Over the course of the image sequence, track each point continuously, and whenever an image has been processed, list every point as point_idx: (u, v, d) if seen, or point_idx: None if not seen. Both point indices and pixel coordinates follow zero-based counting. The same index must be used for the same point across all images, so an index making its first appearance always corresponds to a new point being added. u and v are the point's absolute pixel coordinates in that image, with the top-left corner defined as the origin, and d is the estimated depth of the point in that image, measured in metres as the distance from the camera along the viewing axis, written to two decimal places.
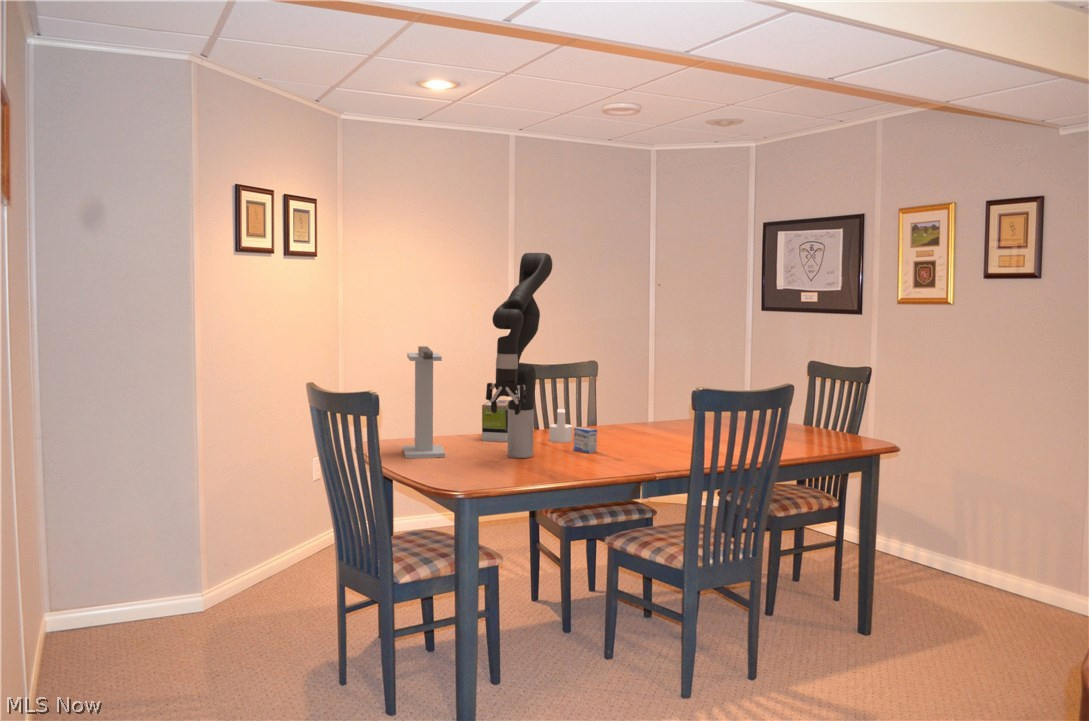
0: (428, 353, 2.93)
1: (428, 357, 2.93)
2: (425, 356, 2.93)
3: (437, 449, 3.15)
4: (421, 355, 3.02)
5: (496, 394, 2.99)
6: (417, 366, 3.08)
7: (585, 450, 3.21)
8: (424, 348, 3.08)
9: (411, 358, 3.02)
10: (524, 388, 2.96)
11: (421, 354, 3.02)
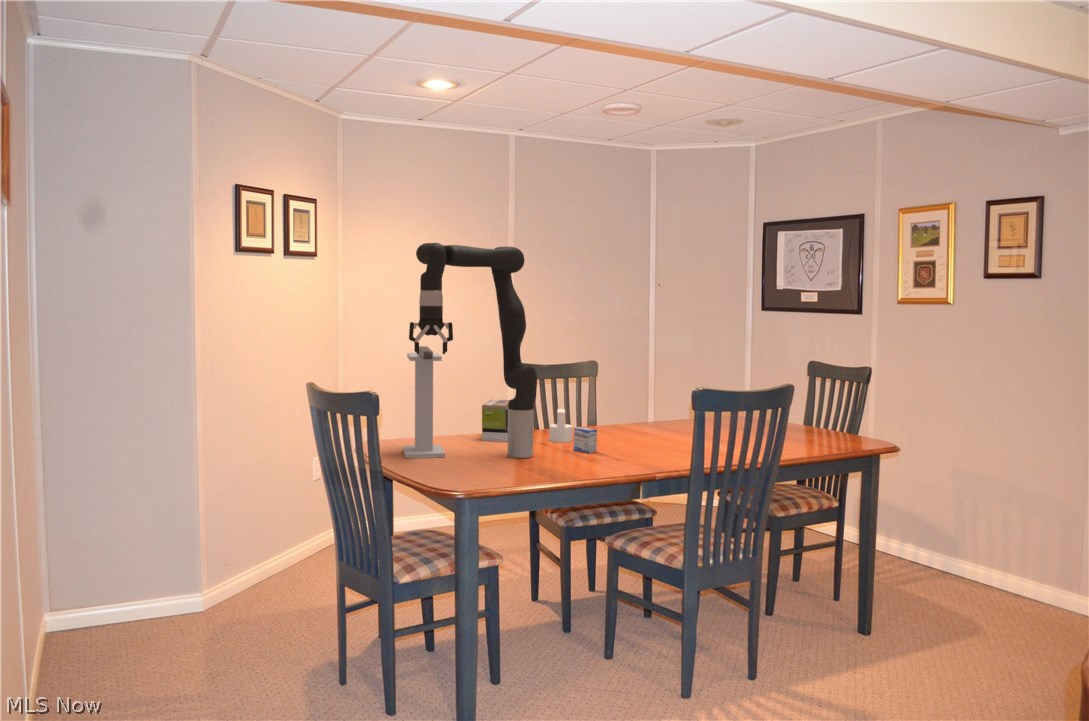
0: (428, 353, 2.93)
1: (428, 357, 2.93)
2: (425, 356, 2.93)
3: (437, 449, 3.15)
4: (421, 355, 3.02)
5: None
6: (417, 366, 3.08)
7: (585, 450, 3.21)
8: (424, 348, 3.08)
9: (411, 358, 3.02)
10: None
11: (421, 354, 3.02)
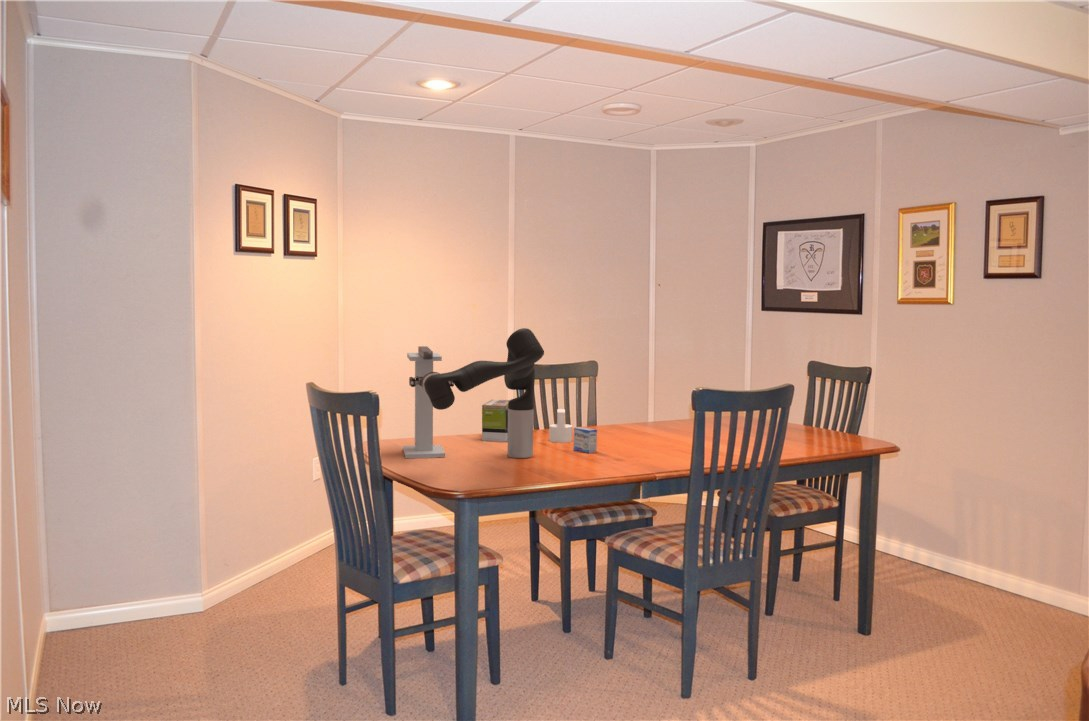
0: (428, 353, 2.93)
1: (428, 357, 2.93)
2: (425, 356, 2.93)
3: (437, 449, 3.15)
4: (421, 355, 3.02)
5: None
6: (417, 366, 3.08)
7: (585, 450, 3.21)
8: (424, 348, 3.08)
9: (411, 358, 3.02)
10: (410, 381, 2.77)
11: (421, 354, 3.02)
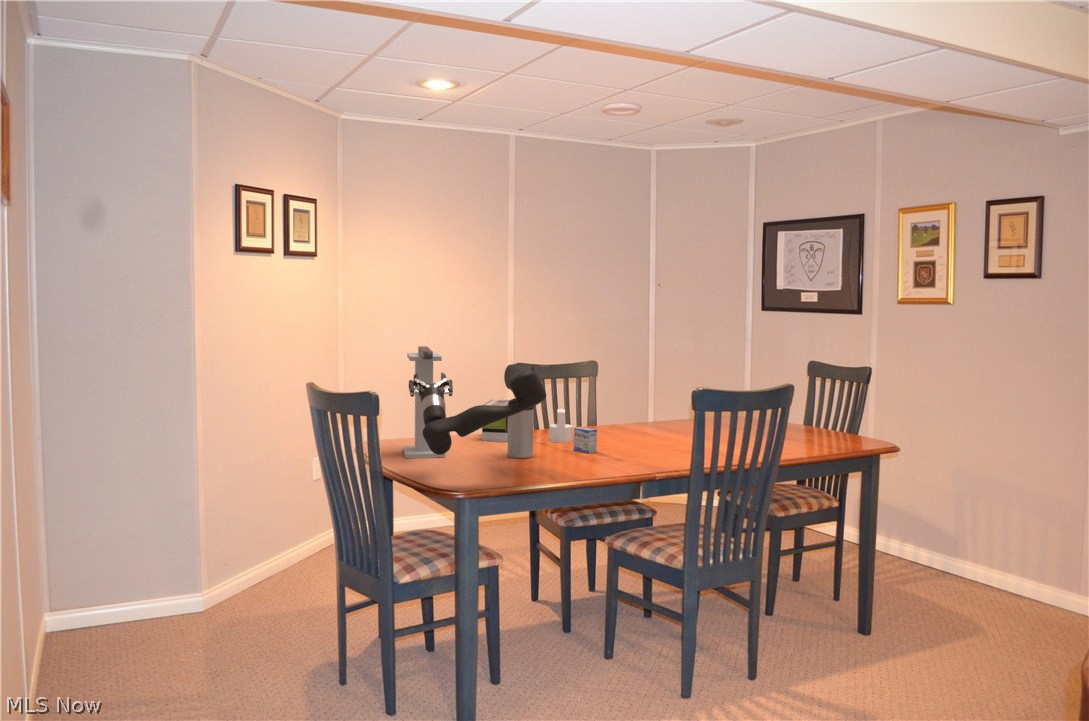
0: (428, 353, 2.93)
1: (428, 357, 2.93)
2: (425, 356, 2.93)
3: None
4: (421, 355, 3.02)
5: (439, 382, 2.84)
6: (417, 366, 3.08)
7: (585, 450, 3.21)
8: (424, 348, 3.08)
9: (411, 358, 3.02)
10: (410, 390, 2.81)
11: (421, 354, 3.02)
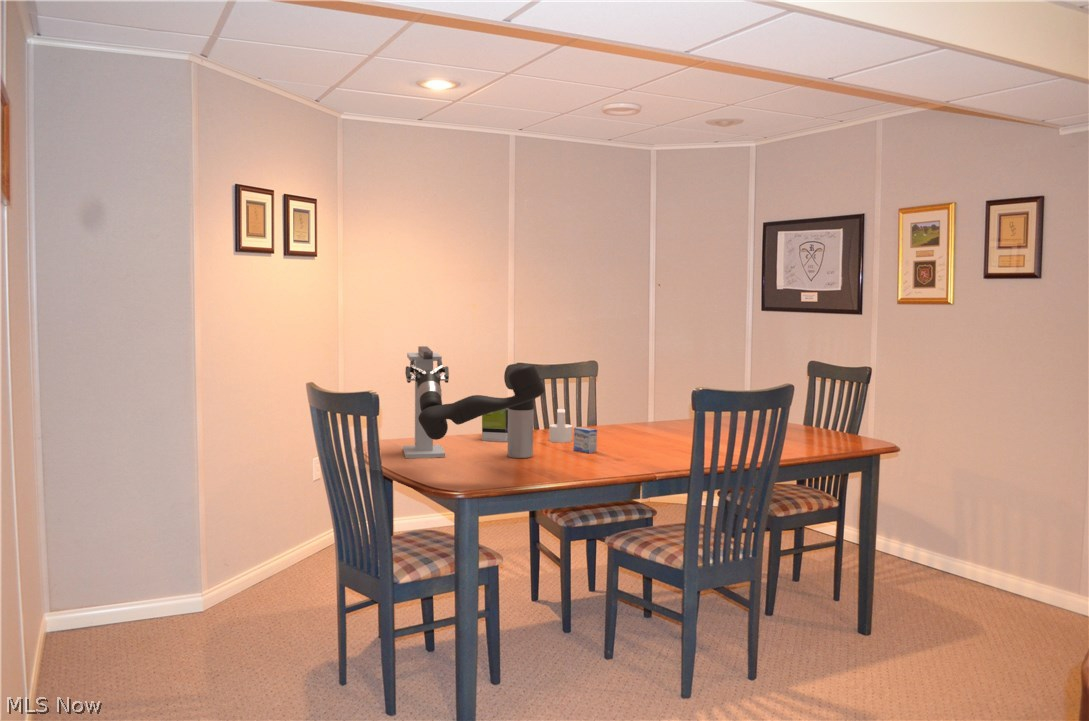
0: (428, 353, 2.93)
1: (428, 357, 2.93)
2: (425, 356, 2.93)
3: (437, 449, 3.15)
4: (421, 355, 3.02)
5: (436, 369, 2.90)
6: (417, 366, 3.08)
7: (585, 450, 3.21)
8: (424, 348, 3.08)
9: (411, 358, 3.02)
10: (407, 376, 2.86)
11: (421, 354, 3.02)
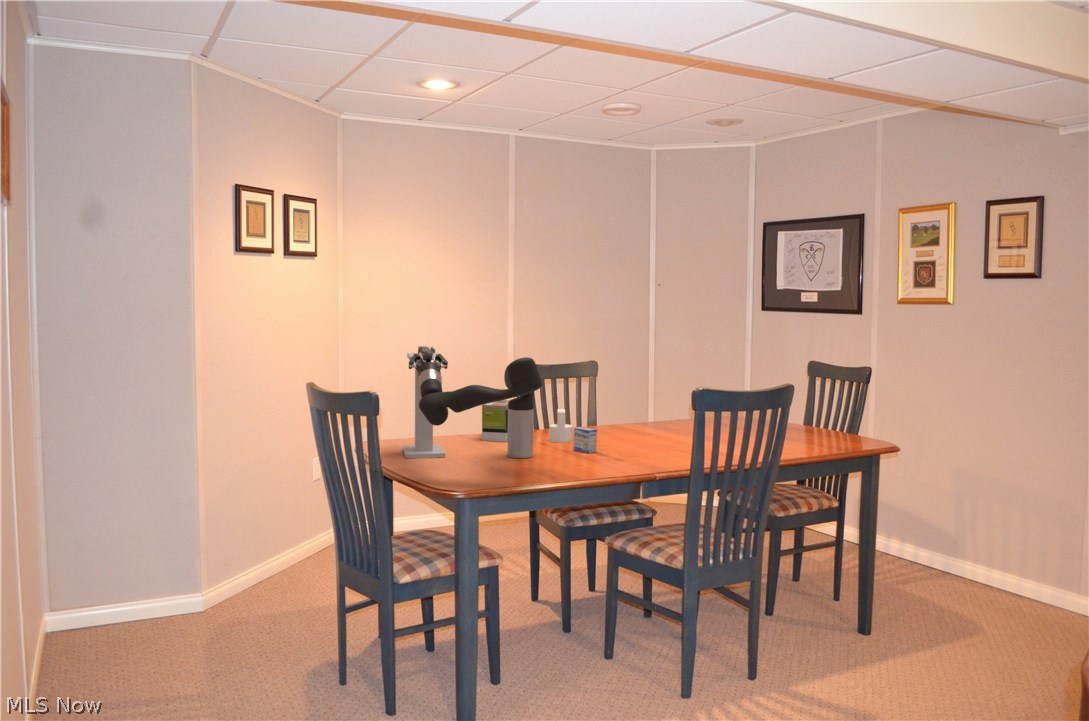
0: (428, 353, 2.93)
1: (428, 357, 2.93)
2: (425, 356, 2.93)
3: (437, 449, 3.15)
4: None
5: None
6: None
7: (585, 450, 3.21)
8: (424, 348, 3.08)
9: None
10: None
11: None
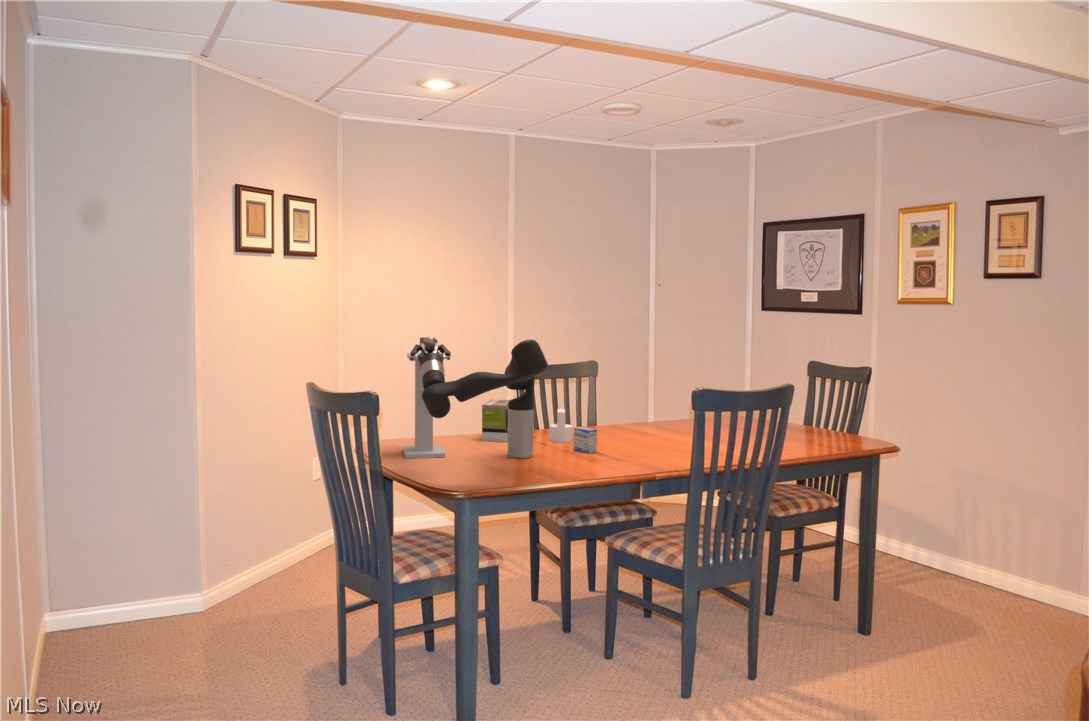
0: (430, 343, 2.83)
1: (430, 348, 2.84)
2: (427, 347, 2.84)
3: (437, 449, 3.15)
4: None
5: (435, 347, 2.86)
6: (417, 366, 3.08)
7: (585, 450, 3.21)
8: (426, 339, 2.98)
9: None
10: None
11: None
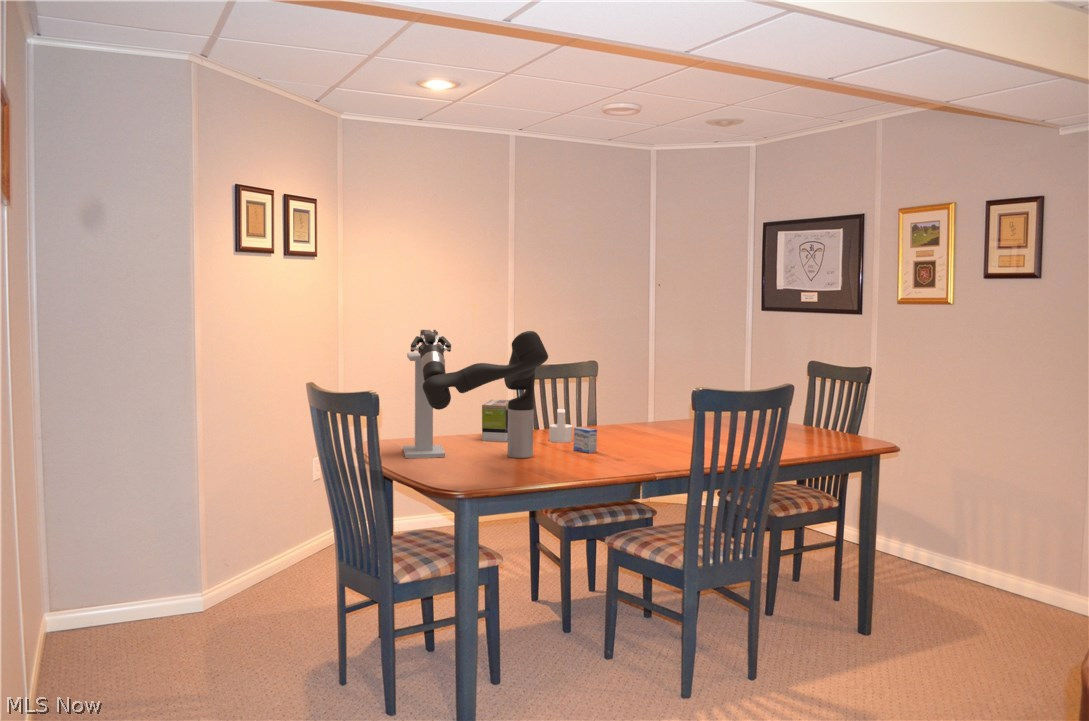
0: (431, 335, 2.83)
1: (431, 339, 2.83)
2: (428, 338, 2.83)
3: (437, 449, 3.15)
4: None
5: None
6: (417, 366, 3.08)
7: (585, 450, 3.21)
8: (426, 331, 2.97)
9: (411, 358, 3.02)
10: None
11: None
